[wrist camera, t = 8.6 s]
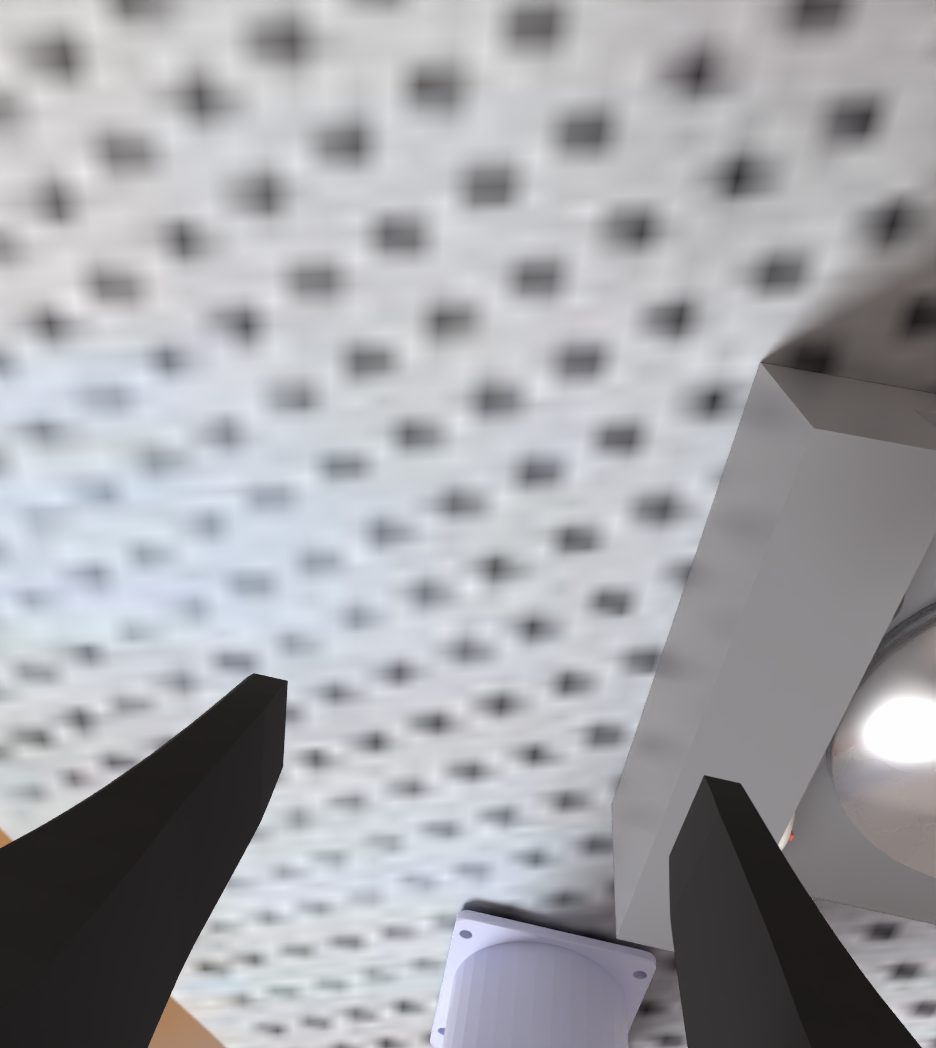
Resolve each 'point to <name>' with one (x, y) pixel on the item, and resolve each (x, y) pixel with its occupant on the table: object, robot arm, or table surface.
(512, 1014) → the robot arm
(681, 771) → the scale
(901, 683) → the pan
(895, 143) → the table surface
